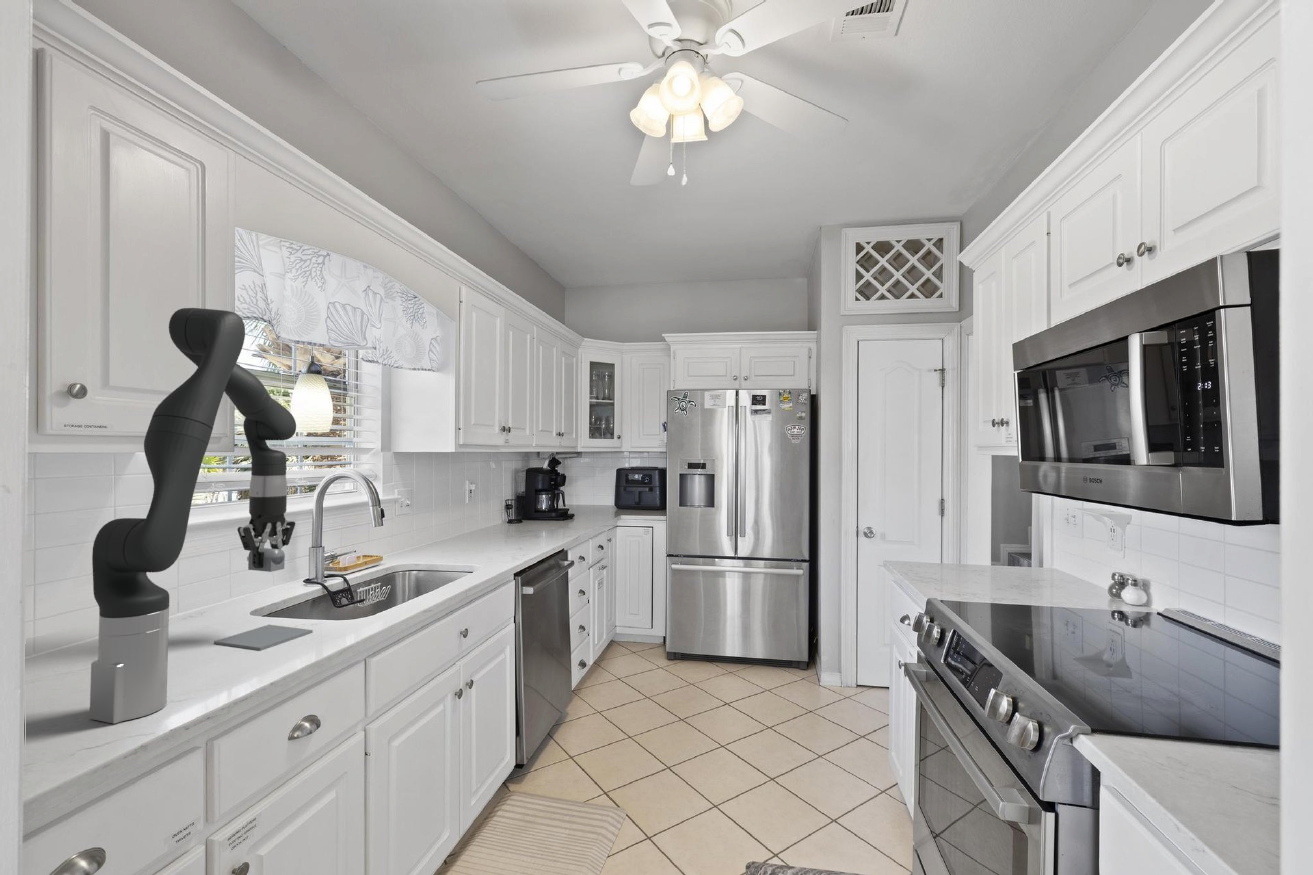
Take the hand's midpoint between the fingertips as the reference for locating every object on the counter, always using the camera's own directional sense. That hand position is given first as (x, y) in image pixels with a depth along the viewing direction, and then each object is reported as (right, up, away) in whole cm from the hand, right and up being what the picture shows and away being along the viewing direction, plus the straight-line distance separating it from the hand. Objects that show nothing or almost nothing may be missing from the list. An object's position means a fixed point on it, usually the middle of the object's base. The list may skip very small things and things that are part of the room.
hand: (266, 565), depth 144 cm
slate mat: (0, -17, 0) cm, 17 cm away
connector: (0, -1, 0) cm, 1 cm away
